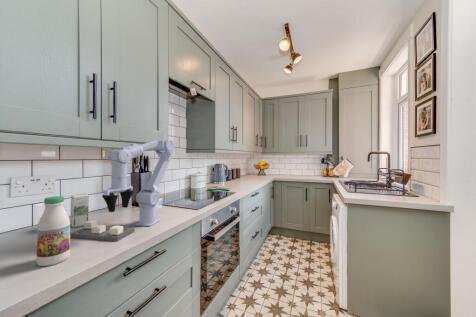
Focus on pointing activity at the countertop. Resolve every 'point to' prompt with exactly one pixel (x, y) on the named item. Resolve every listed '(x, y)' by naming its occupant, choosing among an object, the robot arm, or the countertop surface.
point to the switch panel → (101, 234)
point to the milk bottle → (53, 233)
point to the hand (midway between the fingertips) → (118, 209)
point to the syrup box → (79, 209)
